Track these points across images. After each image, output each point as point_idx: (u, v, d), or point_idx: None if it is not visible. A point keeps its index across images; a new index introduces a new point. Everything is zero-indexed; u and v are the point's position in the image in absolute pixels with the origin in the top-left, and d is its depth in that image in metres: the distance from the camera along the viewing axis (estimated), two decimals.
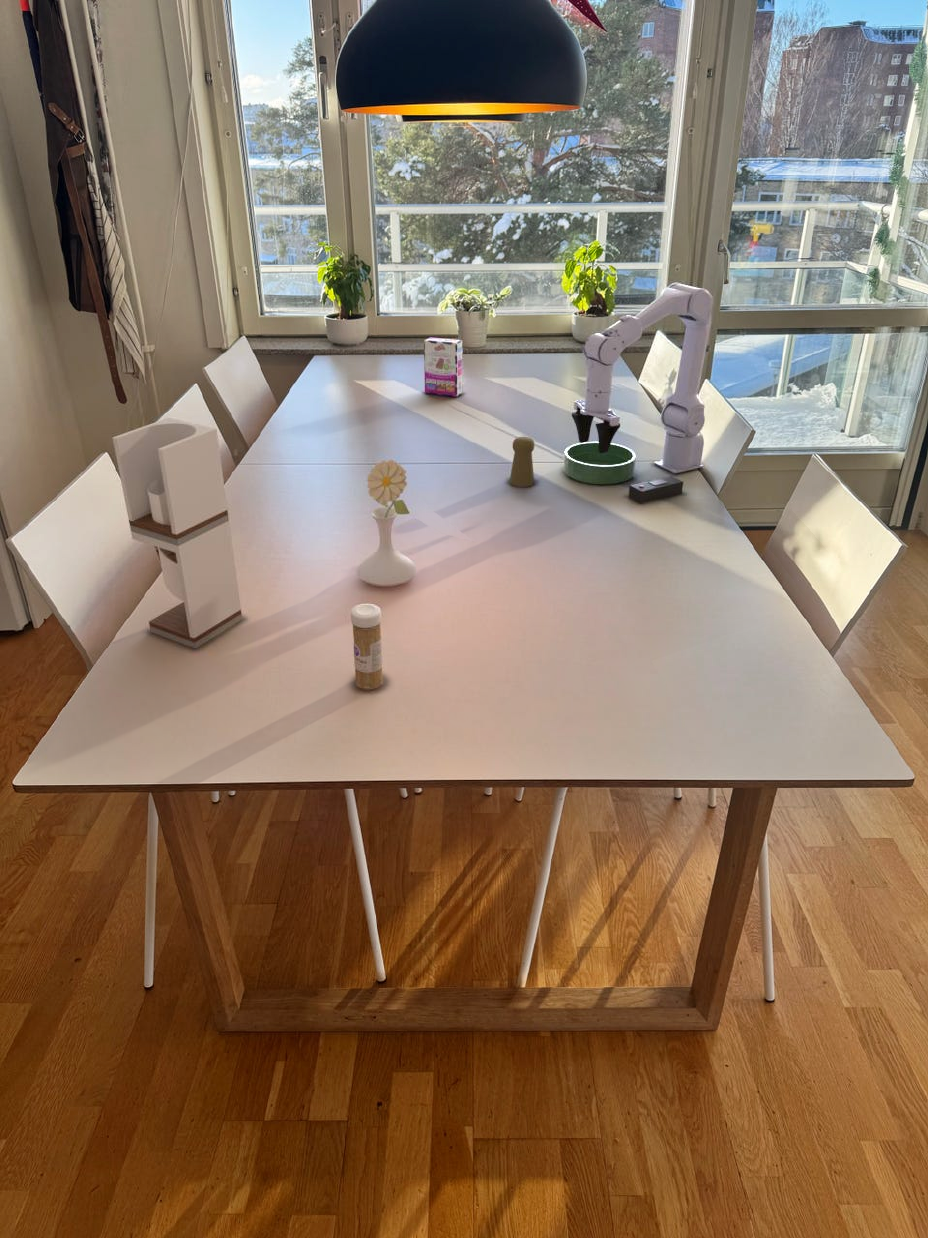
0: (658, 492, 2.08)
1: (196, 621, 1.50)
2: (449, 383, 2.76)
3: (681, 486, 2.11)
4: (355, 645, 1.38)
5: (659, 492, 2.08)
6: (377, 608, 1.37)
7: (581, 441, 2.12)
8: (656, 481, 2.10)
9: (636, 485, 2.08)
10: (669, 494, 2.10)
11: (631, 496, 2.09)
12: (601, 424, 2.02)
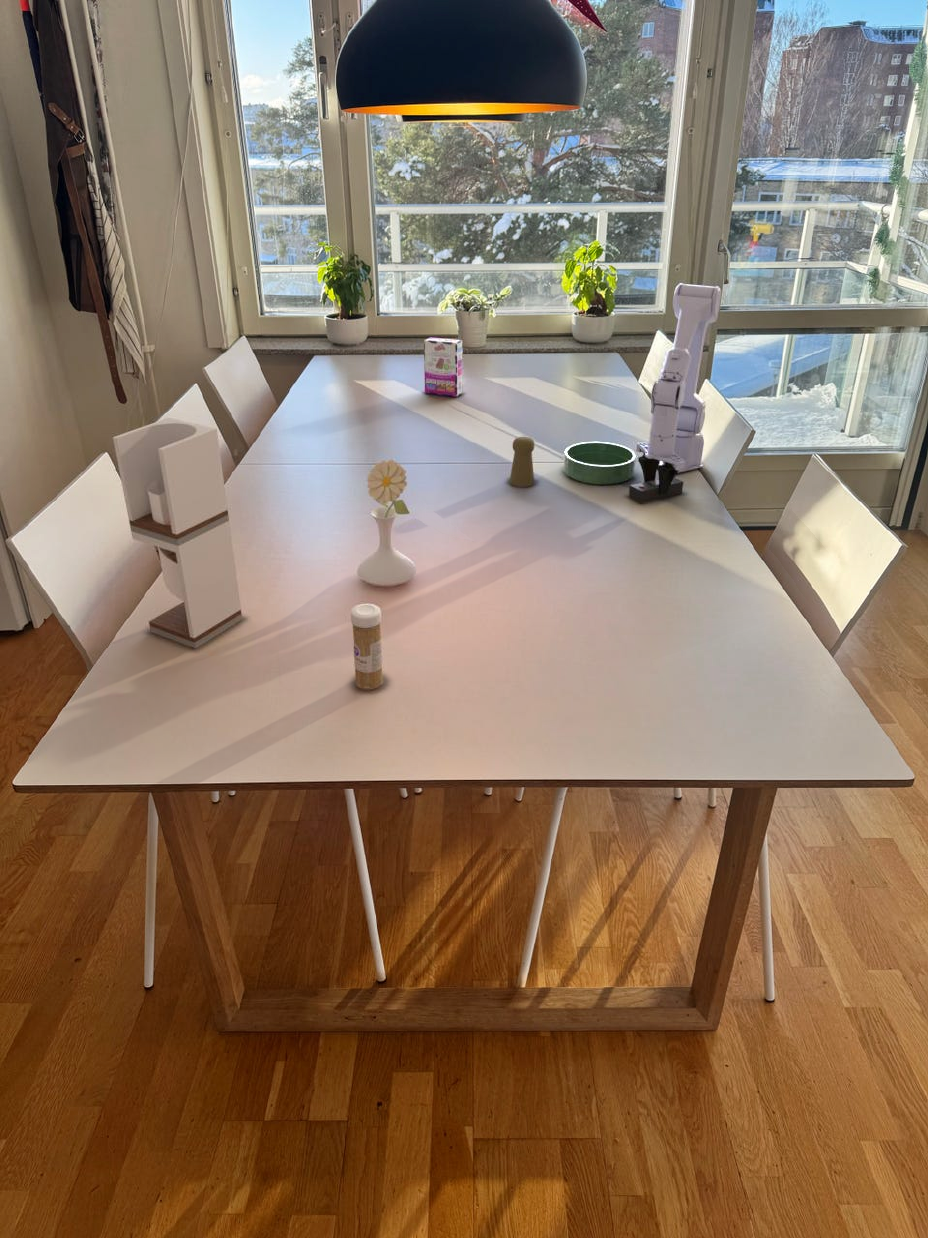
0: (658, 493, 2.08)
1: (196, 621, 1.50)
2: (449, 383, 2.76)
3: (681, 486, 2.11)
4: (355, 645, 1.38)
5: None
6: (377, 608, 1.37)
7: None
8: (656, 481, 2.10)
9: (636, 485, 2.08)
10: (669, 494, 2.10)
11: (631, 496, 2.09)
12: (662, 466, 2.03)
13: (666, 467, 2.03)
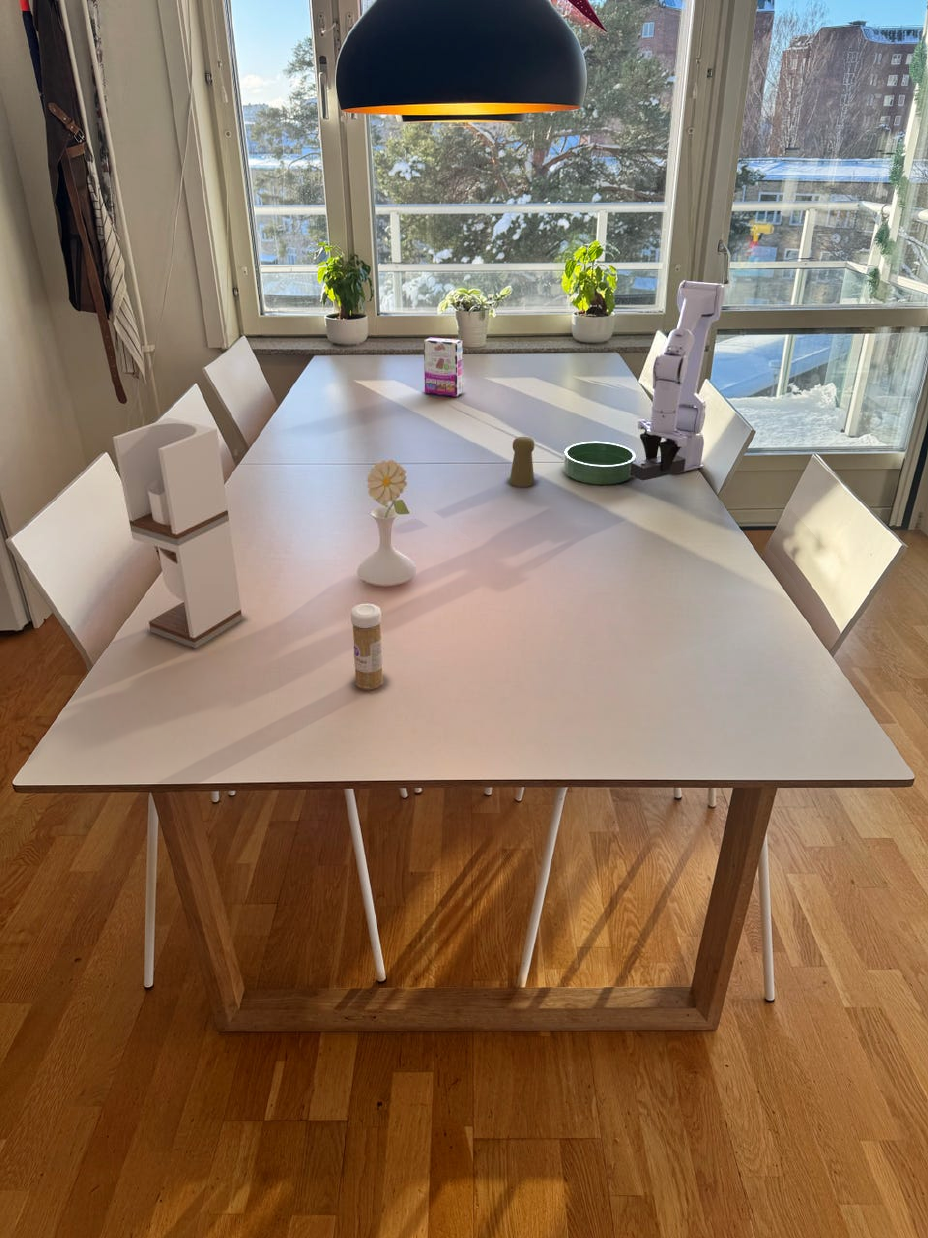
0: (660, 470, 2.05)
1: (196, 621, 1.50)
2: (449, 383, 2.76)
3: (683, 464, 2.08)
4: (355, 645, 1.38)
5: None
6: (377, 608, 1.37)
7: None
8: (658, 458, 2.07)
9: (638, 462, 2.06)
10: (671, 472, 2.07)
11: (633, 474, 2.06)
12: (664, 443, 2.01)
13: (668, 443, 2.00)
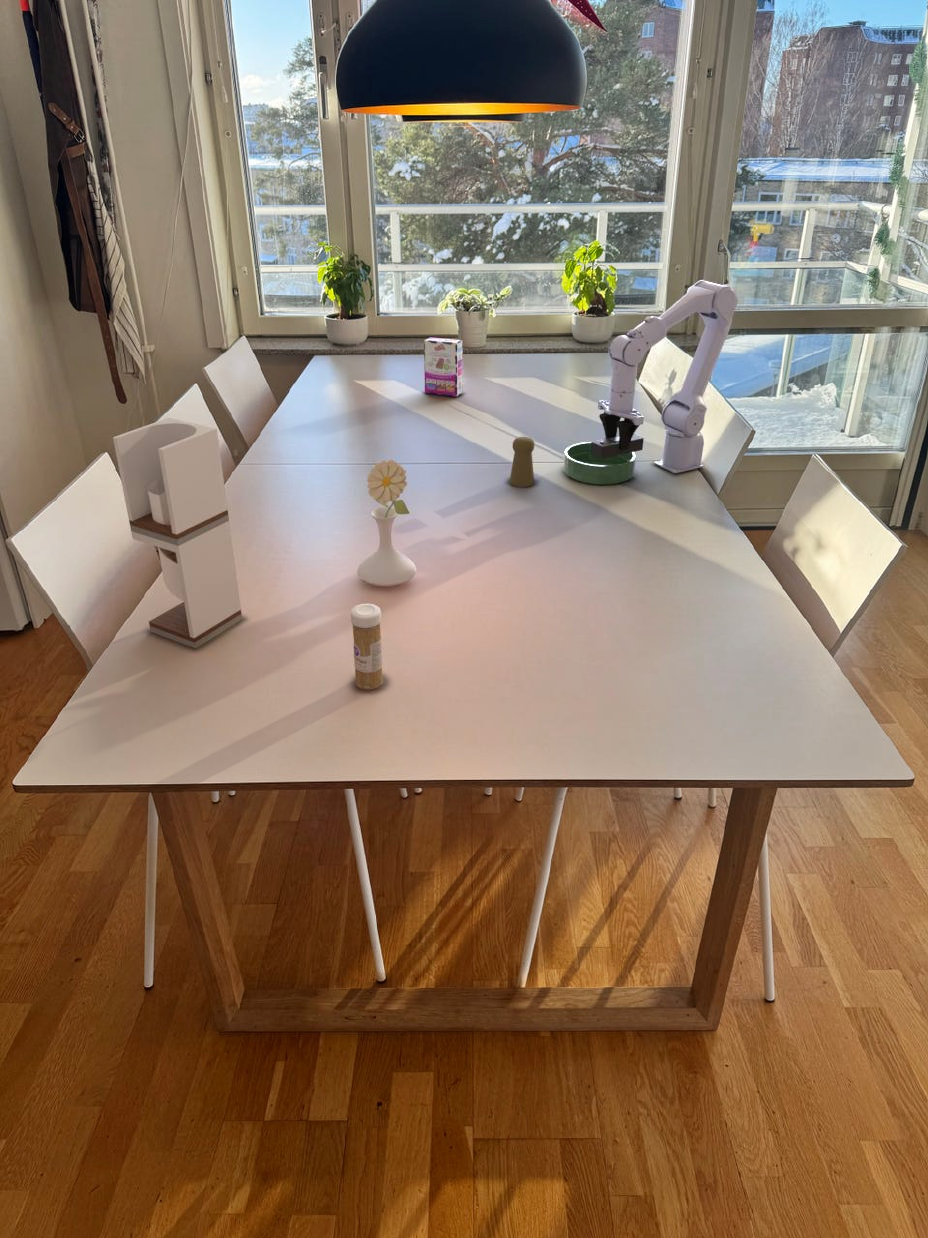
0: (619, 448, 2.13)
1: (196, 621, 1.50)
2: (449, 383, 2.76)
3: (641, 443, 2.16)
4: (355, 645, 1.38)
5: None
6: (377, 608, 1.37)
7: None
8: (617, 438, 2.15)
9: (597, 441, 2.13)
10: (630, 450, 2.15)
11: (592, 452, 2.14)
12: (622, 422, 2.08)
13: (626, 422, 2.08)
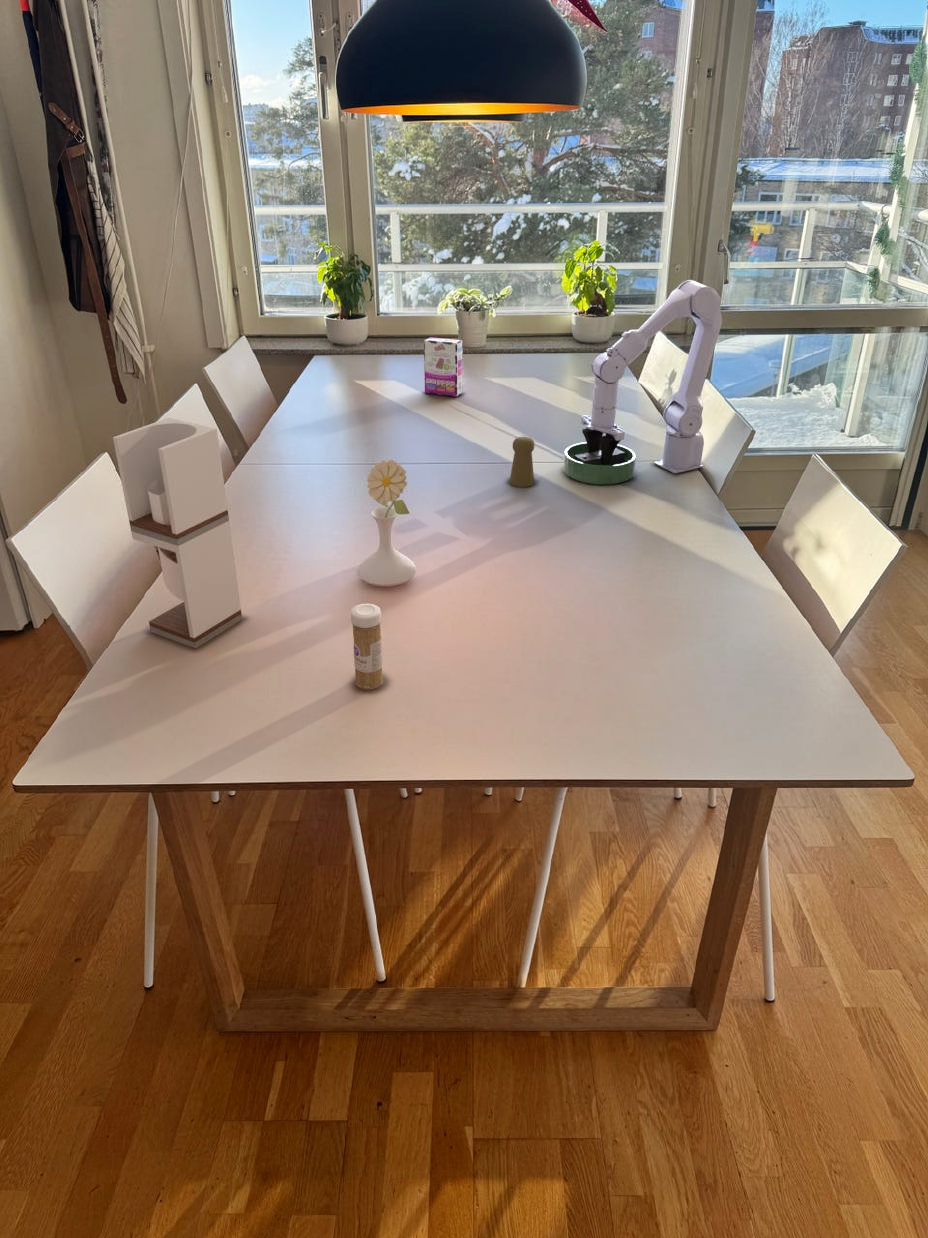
0: (601, 463, 2.19)
1: (196, 621, 1.50)
2: (449, 383, 2.76)
3: (623, 457, 2.22)
4: (355, 645, 1.38)
5: None
6: (377, 608, 1.37)
7: None
8: (599, 452, 2.21)
9: (580, 455, 2.19)
10: (612, 464, 2.21)
11: None
12: (604, 437, 2.14)
13: (607, 438, 2.14)
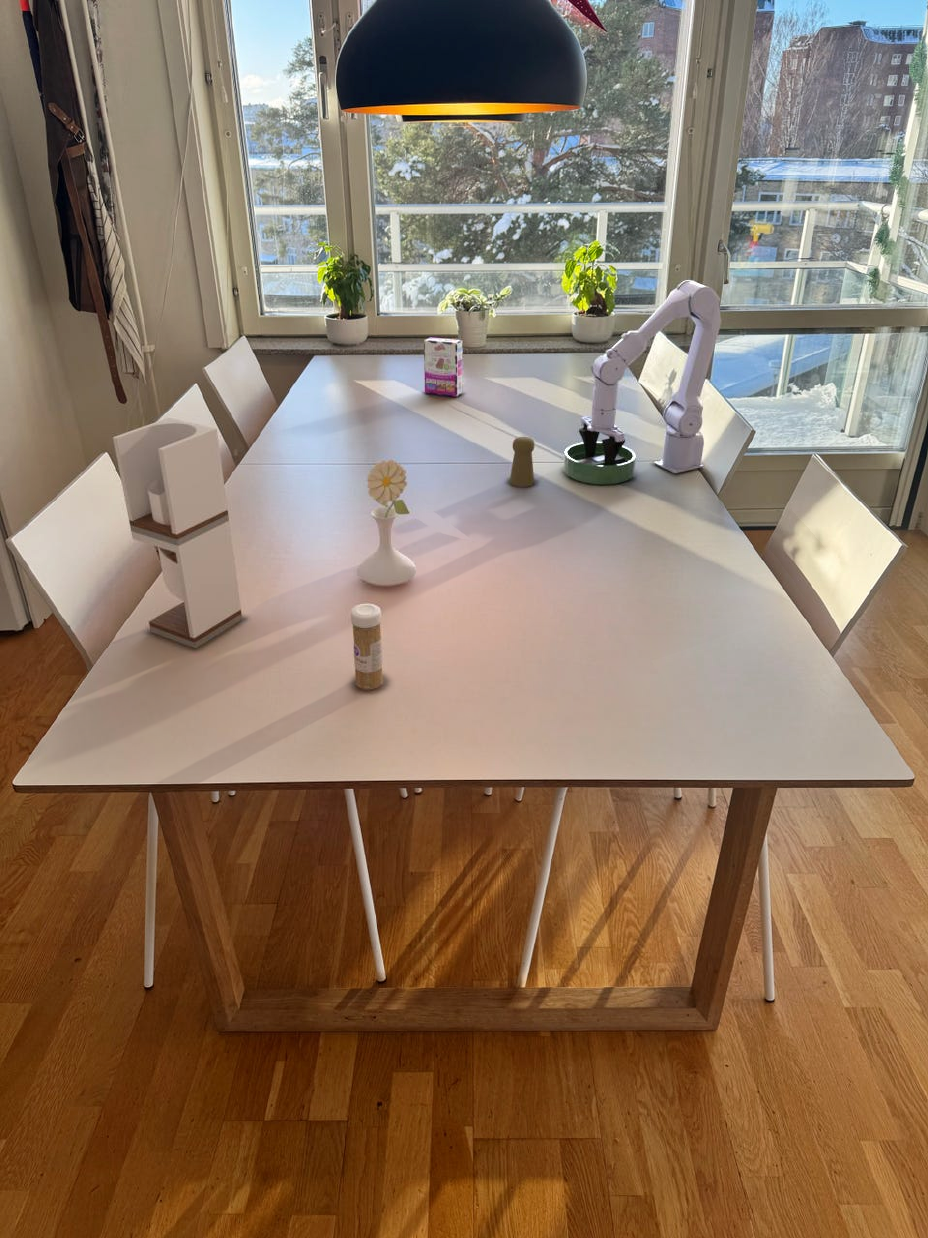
0: None
1: (196, 621, 1.50)
2: (449, 383, 2.76)
3: (623, 462, 2.23)
4: (355, 645, 1.38)
5: None
6: (377, 608, 1.37)
7: (588, 455, 2.23)
8: (599, 457, 2.22)
9: (579, 461, 2.20)
10: None
11: None
12: (607, 440, 2.14)
13: (610, 441, 2.13)
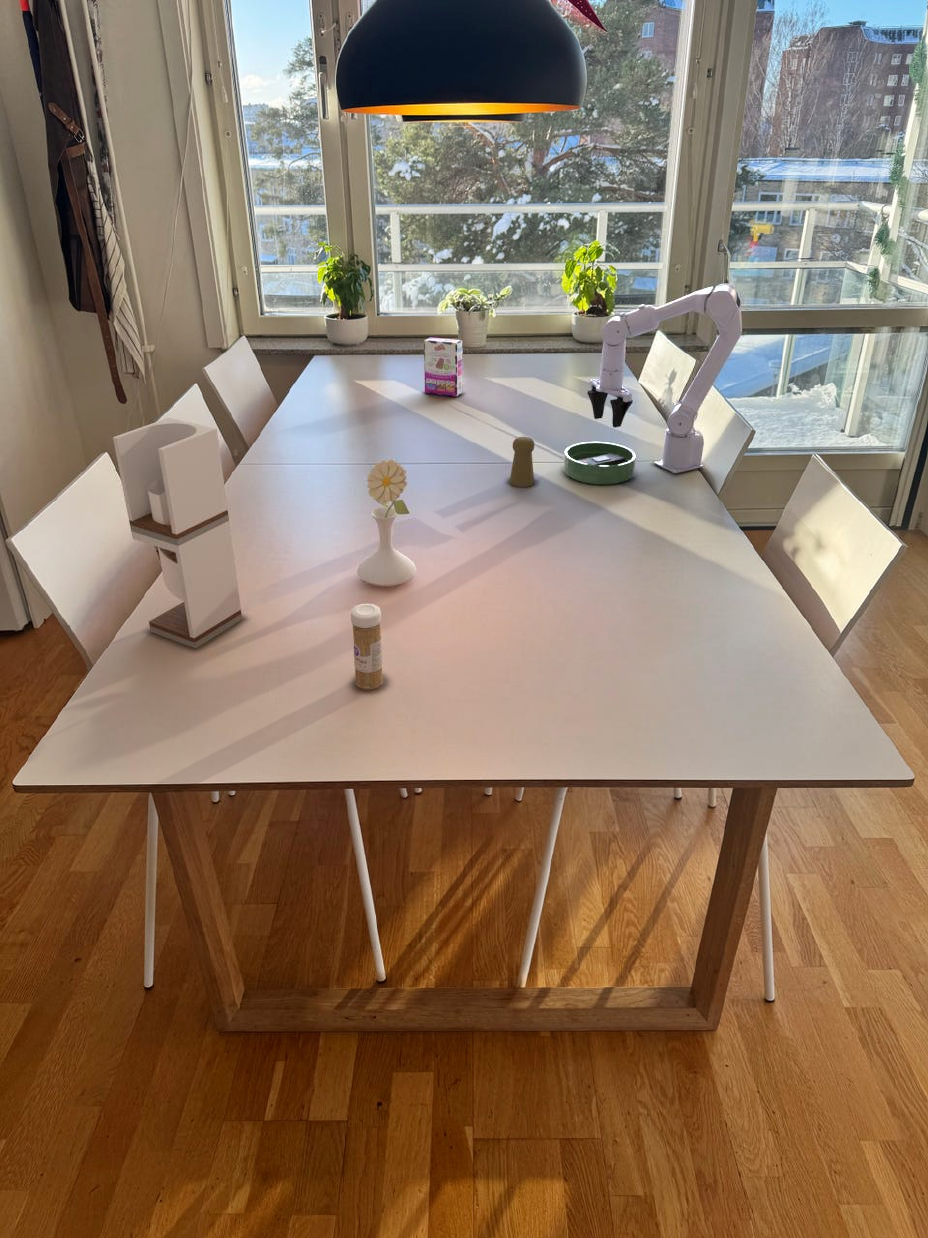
0: None
1: (196, 621, 1.50)
2: (449, 383, 2.76)
3: (623, 462, 2.23)
4: (355, 645, 1.38)
5: None
6: (377, 608, 1.37)
7: (596, 417, 2.30)
8: (599, 457, 2.22)
9: (579, 461, 2.20)
10: None
11: None
12: (615, 400, 2.20)
13: (618, 401, 2.19)
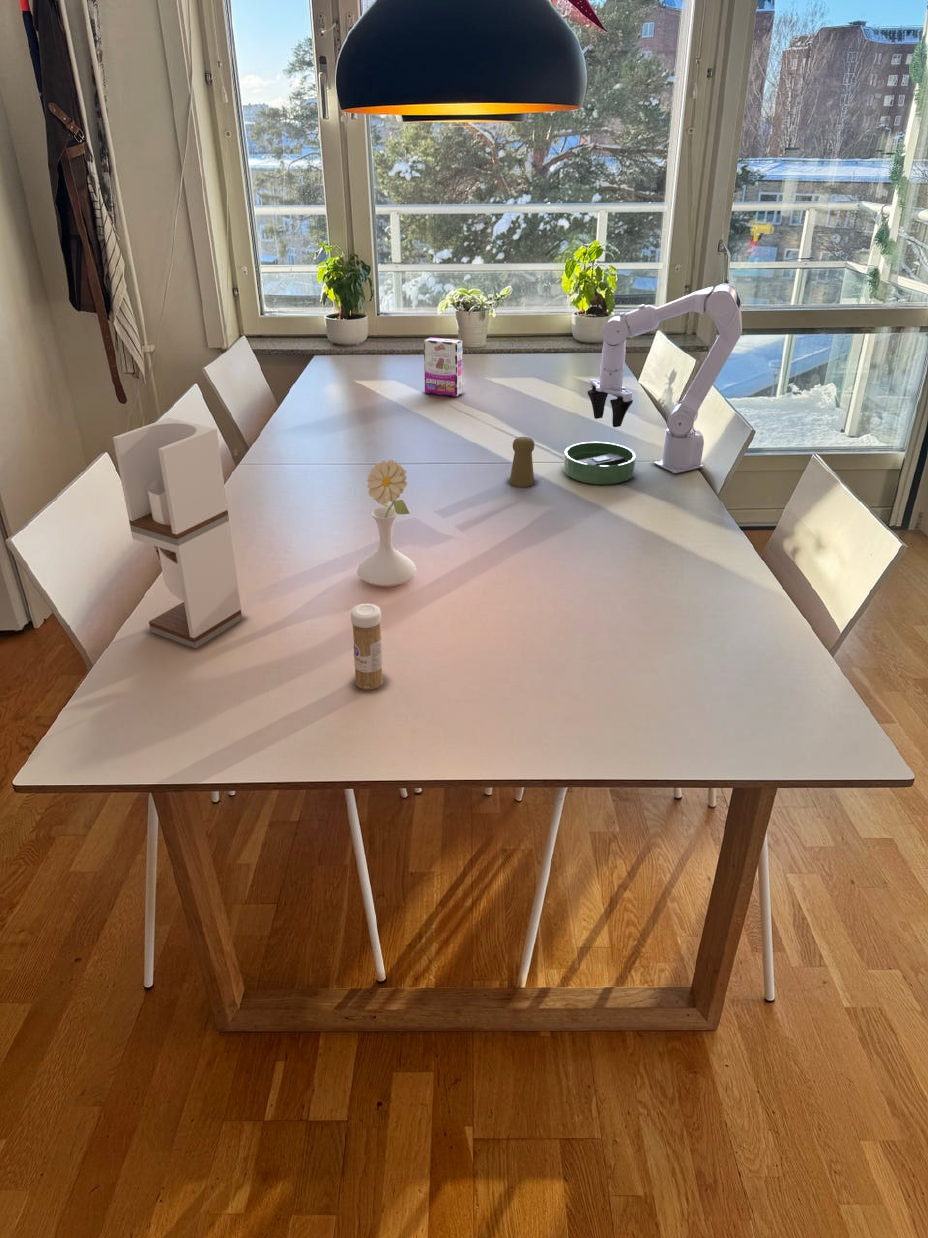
0: None
1: (196, 621, 1.50)
2: (449, 383, 2.76)
3: (623, 462, 2.23)
4: (355, 645, 1.38)
5: None
6: (377, 608, 1.37)
7: (596, 417, 2.30)
8: (599, 457, 2.22)
9: (579, 461, 2.20)
10: None
11: None
12: (615, 400, 2.20)
13: (618, 400, 2.19)
